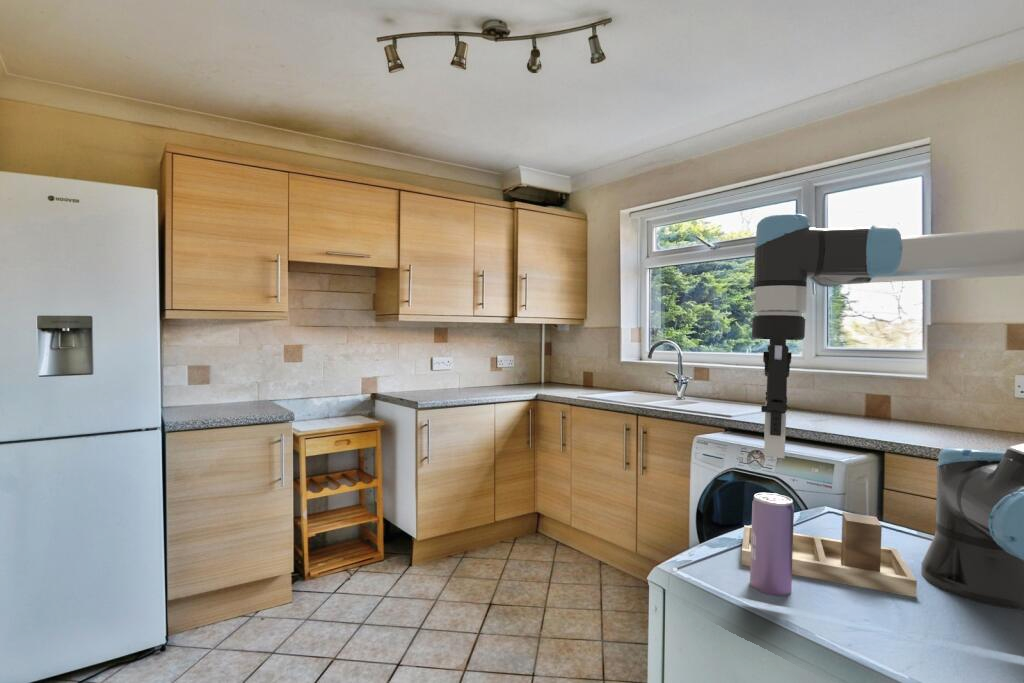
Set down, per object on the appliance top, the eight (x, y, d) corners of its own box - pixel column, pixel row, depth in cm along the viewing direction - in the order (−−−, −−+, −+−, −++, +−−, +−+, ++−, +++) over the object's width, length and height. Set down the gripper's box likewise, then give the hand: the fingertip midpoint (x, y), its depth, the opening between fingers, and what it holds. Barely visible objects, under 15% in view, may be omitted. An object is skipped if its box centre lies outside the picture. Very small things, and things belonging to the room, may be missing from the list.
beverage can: (796, 602, 83) (799, 505, 83) (754, 598, 84) (757, 501, 84) (784, 585, 89) (787, 494, 89) (746, 581, 90) (748, 491, 90)
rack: (896, 567, 97) (896, 549, 97) (916, 601, 84) (916, 580, 84) (743, 541, 107) (744, 525, 107) (741, 568, 95) (741, 550, 95)
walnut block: (874, 568, 94) (876, 516, 94) (879, 579, 90) (881, 525, 90) (840, 562, 97) (842, 512, 96) (844, 573, 92) (846, 520, 92)
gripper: (753, 317, 99) (749, 433, 99) (750, 310, 76) (745, 461, 76) (800, 318, 96) (795, 438, 96) (811, 311, 73) (805, 468, 73)
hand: (773, 448), depth 86 cm, fingers open, 13 cm apart
